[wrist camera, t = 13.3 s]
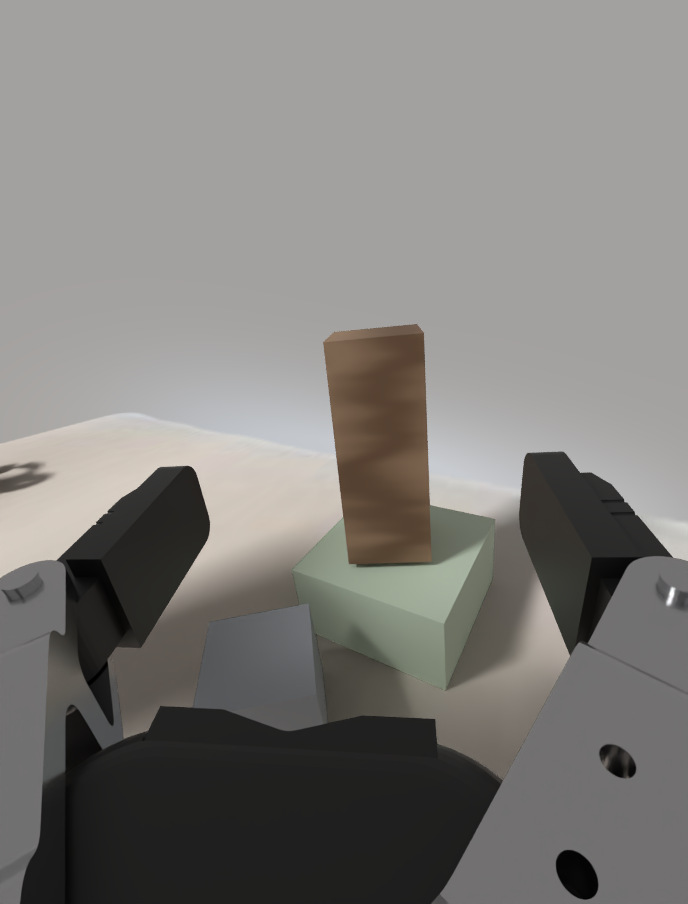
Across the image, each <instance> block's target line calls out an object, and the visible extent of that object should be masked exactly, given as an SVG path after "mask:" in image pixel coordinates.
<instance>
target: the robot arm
mask: <svg viewBox="0 0 688 904" xmlns="http://www.w3.org/2000/svg"><path fill="white" fill-rule="evenodd" d="M519 520H520V529H521V534H522V537H523V540H524V543H525V545H526V548H527V550H528V553H529V555H530V558H531V560H532V562H533V565H534V567H535V570H536V572H537V575H538V577H539V580H540V582H541V585H542V587H543V590H544V592H545V595H546V597H547V600H548V602H549V605H550V607H551V609H552V612H553V614H554V617H555V619H556V622H557V624H558V627H559V629H560V632H561V634H562V637H563V639H564V642H565V644H566V647H567V649H568V652H569V654H570V658H569V660H568V661H567V663H566V665H565V667H564V669H563V671H562V673H561V674H560V676H559V678H558V680H557V682H556V684H555V686H554V687H553V689H552V691H551V693H550V695H549V697H548V699H547V700H546V702H545V704H544V706H543V708H542V710H541V712H540V713H539V715H538V717H537V719H536V721H535V723H534V725H533V726H532V728H531V730H530V732H529V734H528V736H527V738H526V739H525V741H524V743H523V745H522V747H521V749H520V751H519V752H518V754H517V756H516V758H515V760H514V762H513V764H512V765H511V767H510V769H509V771H508V773H507V775H506V777H505V778H504V780H502V779H500V778H499V777H498V776H497V775H495V774H494V773H493V772H491V771H490V770H489V769H487V768H486V767H484V766H483V765H481V764H479V763H478V762H476V761H475V760H473V759H471V758H469V757H467V756H465V755H463V754H461V753H459V752H457V751H455V750H453V749H450V748H447V747H444V746H441V745H439V744H437V738H436V725H435V719H422V718H400V717H379V716H359V717H355V718H350V719H345V720H341V721H336V722H331V723H327V724H322V725H317V726H313V727H308V728H304V729H299V730H294V731H284V730H280V729H277V728H274V727H271V726H269V725H266V724H263V723H260V722H257V721H255V720H252V719H249V718H246V717H243V716H241V715H238V714H235V713H232V712H230V711H227V710H224V709H208V708H187V707H165V706H160V708H159V710H158V712H157V714H156V716H155V718H154V720H153V722H152V724H151V726H150V728H149V730H148V731H146V732H143V733H140V734H137V735H134V736H131V737H128V738H126V739H124V737H123V729H122V721H121V713H120V705H119V697H118V689H117V680H116V672H115V666H114V663H113V661H112V659H111V657H110V655H111V654H112V652H113V651H114V649H115V648H116V647H132V648H141V647H142V645H143V643H144V642H145V640H146V639H147V637H148V635H149V634H150V632H151V630H152V629H153V627H154V626H155V624H156V622H157V621H158V619H159V617H160V616H161V614H162V613H163V611H164V609H165V608H166V606H167V605H168V603H169V601H170V600H171V598H172V596H173V595H174V593H175V592H176V590H177V588H178V587H179V585H180V584H181V582H182V580H183V579H184V577H185V575H186V574H187V572H188V571H189V569H190V567H191V566H192V564H193V562H194V561H195V559H196V558H197V556H198V554H199V553H200V551H201V550H202V548H203V546H204V545H205V543H206V541H207V539H208V536H209V531H210V520H209V515H208V512H207V508H206V505H205V502H204V498H203V495H202V491H201V488H200V485H199V481H198V478H197V475H196V472H195V470H194V469H193V468H192V467H190V466H176V467H160V468H158V469H157V470H156V471H155V472H154V473H153V474H152V475H151V476H150V477H149V478H148V479H147V480H145V481H144V482H143V483H142V484H141V485H140V486H139V487H138V488H137V489H136V490H134V491H132V492H131V493H129V494H127V495H126V496H124V497H122V498H121V499H120V500H119V501H118V502H117V503H116V504H115V505H114V506H113V507H112V508H110V509H109V510H108V514H104V515H103V516H102V517H101V518H100V519H99V520H98V521H97V522H96V523H97V524H96V525H93V526H92V527H91V528H90V529H89V530H88V531H87V532H86V533H85V534H83V535H82V536H81V537H80V538H79V539H78V540H77V541H76V542H75V543H74V544H73V545H72V546H71V547H70V548H69V549H68V550H67V551H66V552H65V553H64V554H63V555H62V556H61V557H60V558H59V559H58V560H57V561H53V560H46V561H39V562H35V563H31V564H28V565H25V566H23V567H20V568H18V569H16V570H14V571H11V572H10V573H8V574H6V575H4V576H3V577H1V578H0V904H688V561H685V560H682V559H677V558H673V557H672V556H671V555H670V553H669V552H668V551H667V550H666V549H665V547H664V546H663V545H662V544H661V543H660V542H659V540H658V539H657V538H656V537H655V536H654V534H653V533H652V532H651V531H650V530H649V528H648V527H647V526H646V525H645V524H644V522H643V521H642V520H641V519H640V518H639V517H638V515H635V512H634V511H633V509H632V508H631V507H630V506H629V505H628V503H625V502H624V499H623V497H621V495H620V494H619V493H618V492H617V490H616V489H615V488H614V487H613V486H612V485H611V484H610V483H608V482H606V481H604V480H603V479H601V478H599V477H598V476H596V475H594V474H593V473H580V472H579V471H578V470H577V468H576V467H575V466H574V464H573V463H572V462H571V460H570V459H569V458H568V456H567V455H566V454H565V453H564V452H543V453H542V452H541V453H527V455H526V456H525V459H524V467H523V477H522V488H521V499H520V510H519Z"/></svg>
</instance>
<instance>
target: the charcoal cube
mask: <svg viewBox="0 0 688 904" xmlns="http://www.w3.org/2000/svg"><path fill="white" fill-rule="evenodd" d="M193 708H208V709H224V710H227V711H230V712H232V713H235V714H238V715H241V716H243V717H246V718H249V719H252V720H255V721H257V722H260V723H263V724H266V725H269V726H271V727H274V728H277V729H280V730H284V731H294V730H299V729H304V728H308V727H313V726H317V725H322V724H327V723H328V719H327V709H326V699H325V689H324V679H323V669H322V664H321V659H320V655H319V650H318V645H317V640H316V635H315V630H314V625H313V620H312V616H311V611H310V606H309V603H308V604H302V605H297V606H292V607H286V608H281V609H276V610H271V611H265V612H260V613H255V614H249V615H244V616H239V617H233V618H228V619H223V620H218V621H212V622H209V627H208V632H207V637H206V642H205V647H204V653H203V658H202V663H201V668H200V673H199V679H198V684H197V689H196V694H195V699H194V705H193Z"/></svg>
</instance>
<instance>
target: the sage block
mask: <svg viewBox="0 0 688 904" xmlns="http://www.w3.org/2000/svg"><path fill="white" fill-rule="evenodd" d="M430 527H431V556H432V562H404V563H373V564H349V561H348V553H347V544H346V535H345V526H344V518H342V519H341V520H340V521H339V522H338V523H337V524H336V525H335V526H334V527H333V528H332V529H331V530H330V531H329V532H328V533H327V534H326V535H325V536H324V537H323V538H322V539H321V540H320V541H319V542H318V543H317V544H316V545H315V546H314V548H313V549H312V550H311V551H310V552H309V553H308V554H307V555H306V556H305V557H304V558H303V559H302V560H301V561H300V562H299V563H298V564H297V565H296V566H295V567H294V568H293V569H292V573H293V578H294V583H295V587H296V592H297V596H298V601H299V605H302V604H308V603H309V606H310V611H311V616H312V620H313V625H314V630H315V634H317V635H319V636H322V637H324V638H326V639H328V640H331V641H333V642H335V643H338V644H340V645H342V646H344V647H347V648H349V649H351V650H354V651H356V652H358V653H360V654H363V655H365V656H367V657H370V658H372V659H374V660H376V661H379V662H381V663H383V664H386V665H388V666H390V667H392V668H395V669H397V670H399V671H402V672H404V673H406V674H408V675H411V676H413V677H415V678H418V679H420V680H422V681H424V682H427V683H429V684H431V685H433V686H436V687H438V688H440V689H443V690H445V691H446V689H447V687H448V684H449V682H450V679H451V677H452V675H453V672H454V670H455V667H456V665H457V663H458V660H459V658H460V655H461V653H462V651H463V648H464V646H465V643H466V641H467V639H468V636H469V634H470V632H471V629H472V627H473V624H474V622H475V620H476V617H477V615H478V612H479V610H480V608H481V605H482V603H483V600H484V598H485V596H486V593H487V591H488V588H489V586H490V584H491V581H492V579H493V562H494V537H495V519H492V518H488V517H483V516H478V515H473V514H469V513H464V512H459V511H455V510H450V509H445V508H440V507H436V506H431V505H430Z"/></svg>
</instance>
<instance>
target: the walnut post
mask: <svg viewBox="0 0 688 904" xmlns="http://www.w3.org/2000/svg"><path fill="white" fill-rule="evenodd" d="M323 344H324V352H325V361H326V370H327V378H328V387H329V396H330V403H331V404H330V405H331V413H332V422H333V430H334V439H335V448H336V457H337V465H338V474H339V483H340V492H341V500H342V509H343V518H344V526H345V535H346V544H347V553H348V561H349V564H373V563H404V562H432V556H431V527H430V499H429V470H428V441H427V413H426V383H425V354H424V333H423V331H422V330H421V329H420V328H419V326H418V325H417V324H414V325H403V326H393V327H384V328H383V327H382V328H373V329H361V330H351V331H341V332H334V333H333V334H332V335H331V336H330V337H328V339H326V340H325V341H324V342H323Z"/></svg>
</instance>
